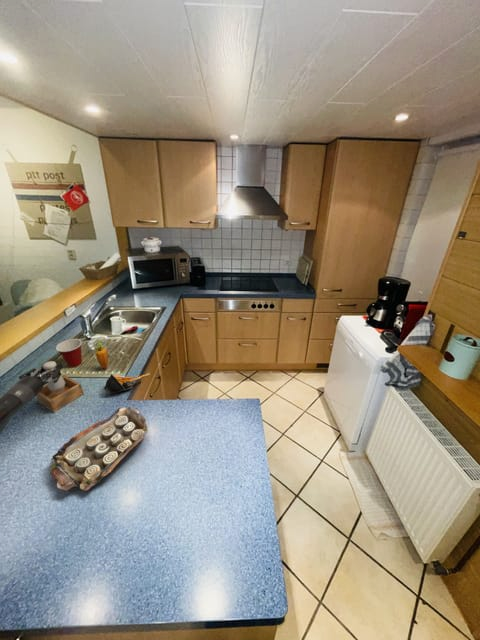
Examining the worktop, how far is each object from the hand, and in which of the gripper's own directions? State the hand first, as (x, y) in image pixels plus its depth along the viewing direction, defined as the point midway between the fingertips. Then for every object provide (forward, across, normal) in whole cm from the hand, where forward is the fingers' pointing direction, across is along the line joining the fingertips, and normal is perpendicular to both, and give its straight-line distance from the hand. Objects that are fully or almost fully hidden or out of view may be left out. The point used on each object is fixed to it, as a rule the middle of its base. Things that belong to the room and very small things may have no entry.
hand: (55, 364), depth 102 cm
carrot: (+18, -9, +15) cm, 25 cm away
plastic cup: (+22, +8, +15) cm, 28 cm away
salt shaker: (-3, 0, +11) cm, 11 cm away
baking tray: (-27, -31, +16) cm, 44 cm away
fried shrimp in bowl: (+5, -26, +15) cm, 30 cm away
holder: (-2, 0, +15) cm, 15 cm away
